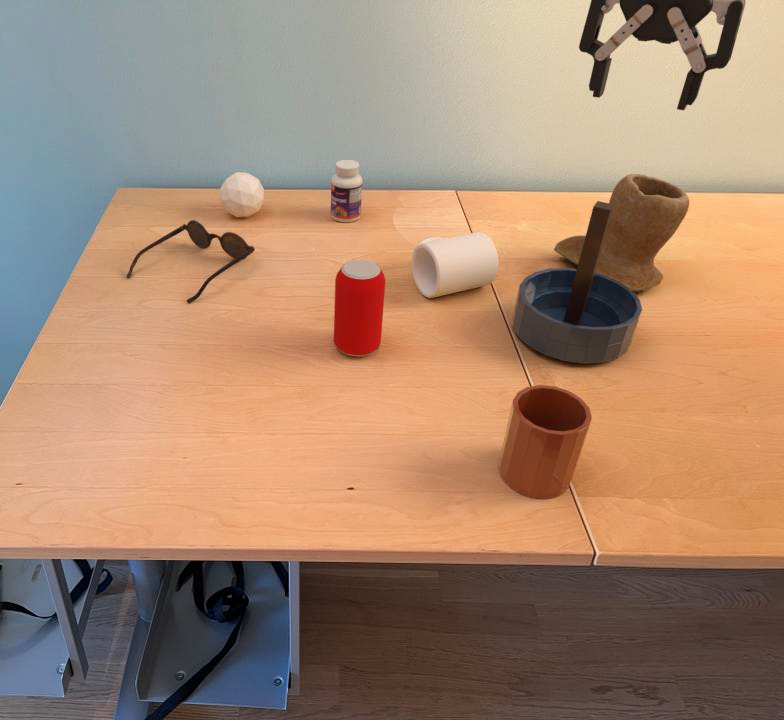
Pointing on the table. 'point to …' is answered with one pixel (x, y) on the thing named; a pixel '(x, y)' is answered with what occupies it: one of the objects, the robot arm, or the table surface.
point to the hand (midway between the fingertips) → (638, 101)
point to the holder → (543, 441)
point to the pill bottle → (346, 192)
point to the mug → (454, 264)
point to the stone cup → (635, 231)
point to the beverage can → (358, 307)
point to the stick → (588, 262)
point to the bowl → (599, 322)
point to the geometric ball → (242, 194)
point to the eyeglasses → (203, 239)
